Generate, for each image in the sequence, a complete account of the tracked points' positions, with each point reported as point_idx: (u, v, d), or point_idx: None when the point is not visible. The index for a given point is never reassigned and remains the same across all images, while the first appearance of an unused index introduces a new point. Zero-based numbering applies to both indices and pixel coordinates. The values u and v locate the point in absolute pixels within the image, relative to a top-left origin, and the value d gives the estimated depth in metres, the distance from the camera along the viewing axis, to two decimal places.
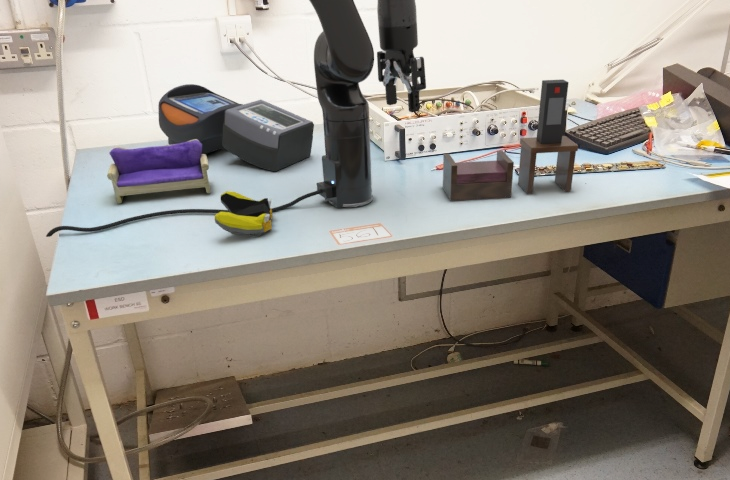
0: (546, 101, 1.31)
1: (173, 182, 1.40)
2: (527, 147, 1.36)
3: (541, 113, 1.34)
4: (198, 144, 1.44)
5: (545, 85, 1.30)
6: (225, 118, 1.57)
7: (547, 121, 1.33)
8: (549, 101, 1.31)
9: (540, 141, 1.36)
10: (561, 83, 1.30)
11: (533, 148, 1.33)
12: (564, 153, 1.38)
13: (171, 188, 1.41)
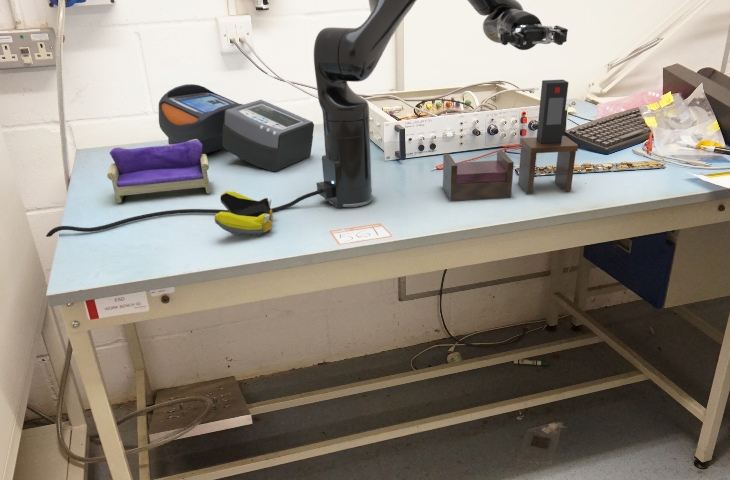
0: (546, 101, 1.31)
1: (173, 182, 1.40)
2: (527, 147, 1.36)
3: (541, 113, 1.34)
4: (198, 144, 1.44)
5: (545, 85, 1.30)
6: (225, 118, 1.57)
7: (547, 121, 1.33)
8: (549, 101, 1.31)
9: (540, 141, 1.36)
10: (561, 83, 1.30)
11: (533, 148, 1.33)
12: (564, 153, 1.38)
13: (171, 188, 1.41)
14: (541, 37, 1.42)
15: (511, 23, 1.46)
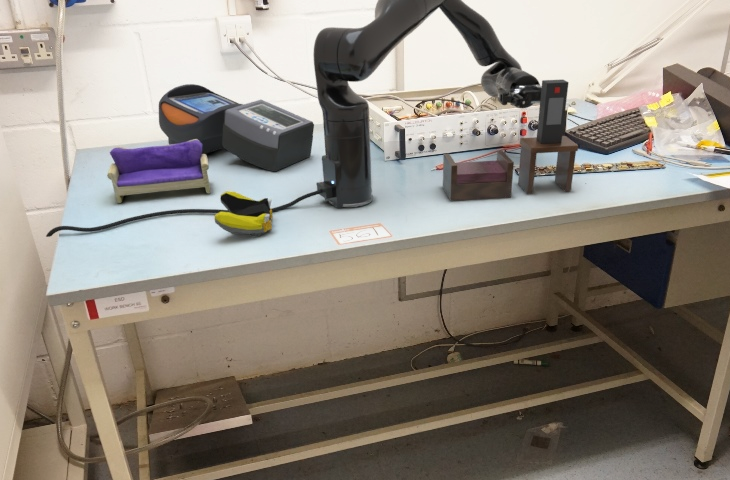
0: (546, 101, 1.31)
1: (173, 182, 1.40)
2: (527, 147, 1.36)
3: (541, 113, 1.34)
4: (198, 144, 1.44)
5: (545, 85, 1.30)
6: (225, 118, 1.57)
7: (547, 121, 1.33)
8: (549, 101, 1.31)
9: (540, 141, 1.36)
10: (561, 83, 1.30)
11: (533, 148, 1.33)
12: (564, 153, 1.38)
13: (171, 188, 1.41)
14: (539, 97, 1.46)
15: (510, 83, 1.50)
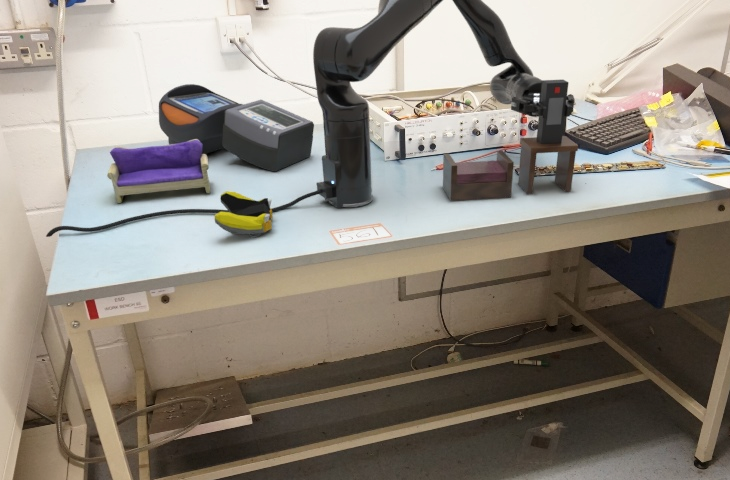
0: (546, 101, 1.31)
1: (173, 182, 1.40)
2: (527, 147, 1.36)
3: None
4: (198, 144, 1.44)
5: (545, 85, 1.30)
6: (225, 118, 1.57)
7: (547, 121, 1.33)
8: (549, 101, 1.31)
9: (540, 141, 1.36)
10: (561, 83, 1.30)
11: (533, 148, 1.33)
12: (564, 153, 1.38)
13: (171, 188, 1.41)
14: None
15: (522, 90, 1.42)
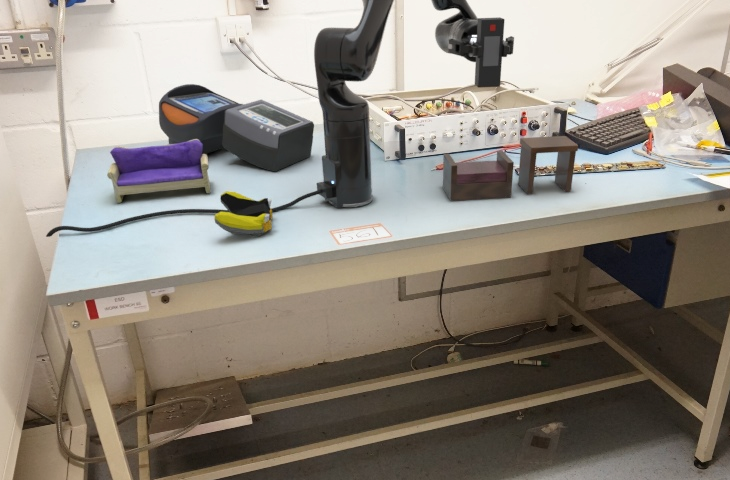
0: (481, 40, 1.23)
1: (173, 182, 1.41)
2: (527, 147, 1.36)
3: None
4: (198, 144, 1.44)
5: (480, 22, 1.23)
6: (225, 118, 1.57)
7: (484, 62, 1.25)
8: (484, 40, 1.23)
9: (477, 84, 1.28)
10: (497, 20, 1.22)
11: (533, 148, 1.33)
12: (564, 153, 1.38)
13: (171, 188, 1.41)
14: None
15: (461, 33, 1.34)
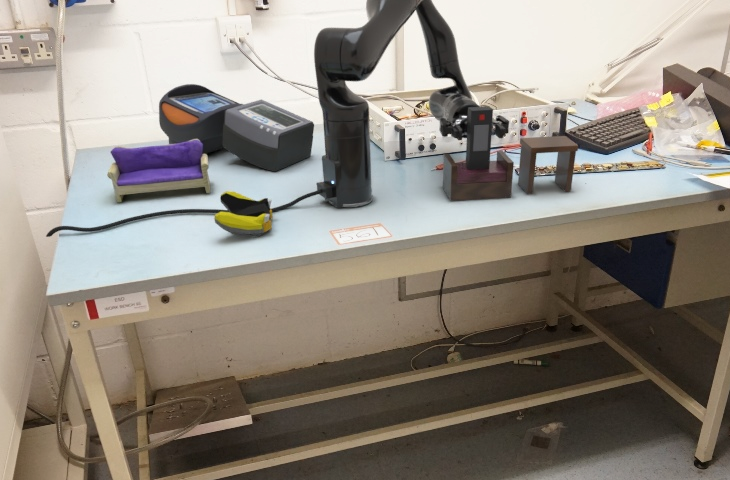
0: (471, 128, 1.32)
1: (173, 181, 1.41)
2: (527, 147, 1.36)
3: (468, 139, 1.35)
4: (198, 144, 1.44)
5: (470, 112, 1.31)
6: (225, 118, 1.57)
7: (474, 147, 1.34)
8: (474, 128, 1.32)
9: (468, 167, 1.37)
10: (485, 110, 1.30)
11: (533, 148, 1.33)
12: (564, 153, 1.38)
13: (171, 188, 1.41)
14: None
15: (453, 112, 1.42)
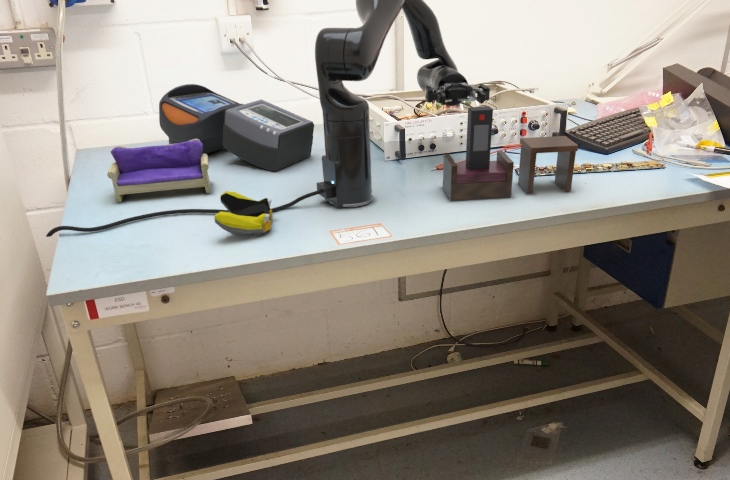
0: (471, 128, 1.32)
1: (173, 181, 1.41)
2: (527, 147, 1.36)
3: (468, 139, 1.35)
4: (198, 144, 1.44)
5: (470, 112, 1.31)
6: (225, 118, 1.57)
7: (474, 147, 1.34)
8: (474, 128, 1.32)
9: (468, 167, 1.37)
10: (485, 110, 1.30)
11: (533, 148, 1.33)
12: (564, 153, 1.38)
13: (170, 187, 1.41)
14: (465, 95, 1.47)
15: (438, 81, 1.51)
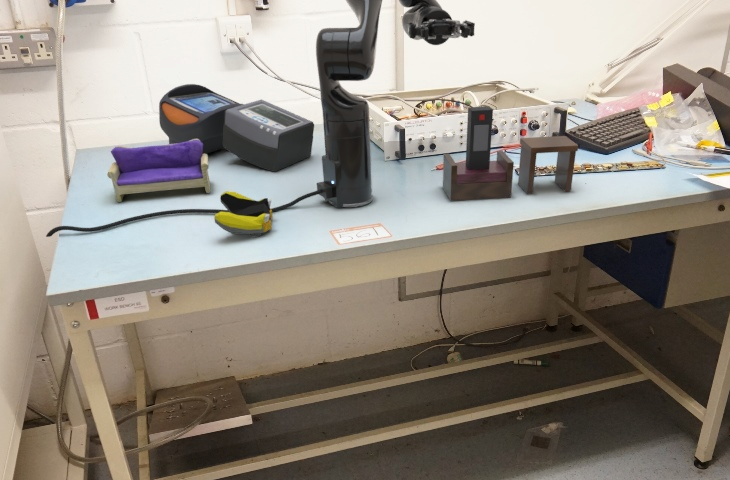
0: (471, 128, 1.32)
1: (173, 181, 1.41)
2: (527, 147, 1.36)
3: (468, 139, 1.35)
4: (198, 144, 1.44)
5: (470, 112, 1.31)
6: (225, 118, 1.57)
7: (474, 147, 1.34)
8: (474, 128, 1.32)
9: (468, 167, 1.37)
10: (485, 110, 1.30)
11: (533, 148, 1.33)
12: (564, 153, 1.38)
13: (170, 187, 1.41)
14: (449, 31, 1.43)
15: (422, 18, 1.47)
